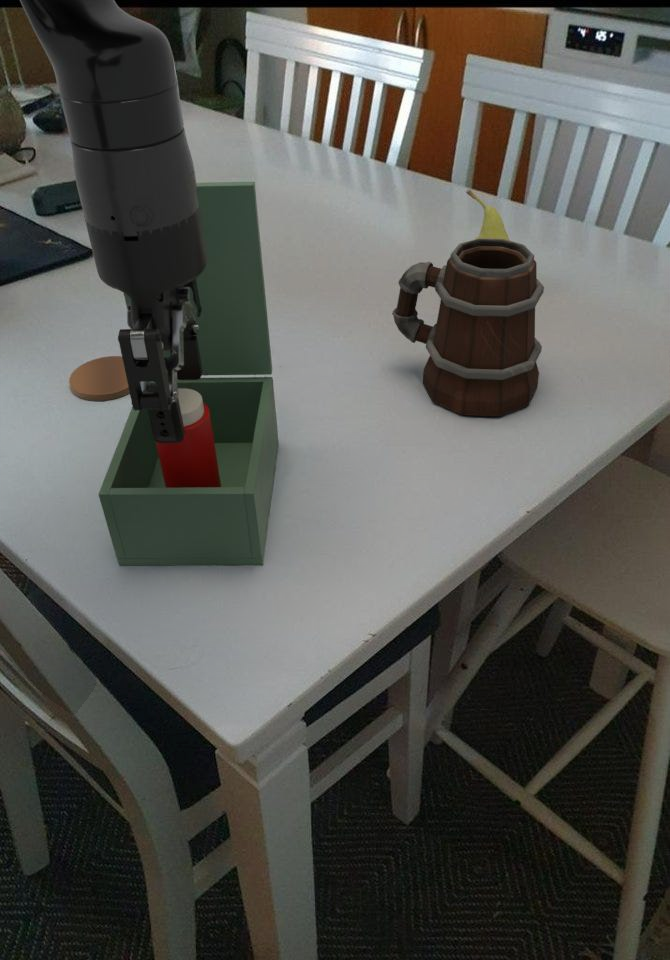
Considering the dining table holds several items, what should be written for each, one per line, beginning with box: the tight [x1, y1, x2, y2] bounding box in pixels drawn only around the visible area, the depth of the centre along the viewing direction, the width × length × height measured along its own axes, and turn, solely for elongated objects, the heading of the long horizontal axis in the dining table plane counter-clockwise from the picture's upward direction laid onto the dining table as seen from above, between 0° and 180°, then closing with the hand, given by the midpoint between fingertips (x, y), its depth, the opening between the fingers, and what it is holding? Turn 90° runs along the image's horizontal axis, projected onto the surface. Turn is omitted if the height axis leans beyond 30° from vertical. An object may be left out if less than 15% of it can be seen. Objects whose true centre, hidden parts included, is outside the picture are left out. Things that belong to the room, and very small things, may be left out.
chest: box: [97, 376, 280, 566], centre depth 71 cm, size 17×12×8 cm
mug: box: [392, 238, 545, 417], centre depth 82 cm, size 16×12×15 cm
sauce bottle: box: [156, 388, 221, 488], centre depth 67 cm, size 5×5×12 cm
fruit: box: [465, 188, 511, 241], centre depth 101 cm, size 7×8×12 cm
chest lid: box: [123, 181, 273, 376], centre depth 71 cm, size 17×12×5 cm
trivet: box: [68, 355, 130, 402], centre depth 89 cm, size 8×8×1 cm
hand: (180, 407), depth 64 cm, fingers open, 8 cm apart
